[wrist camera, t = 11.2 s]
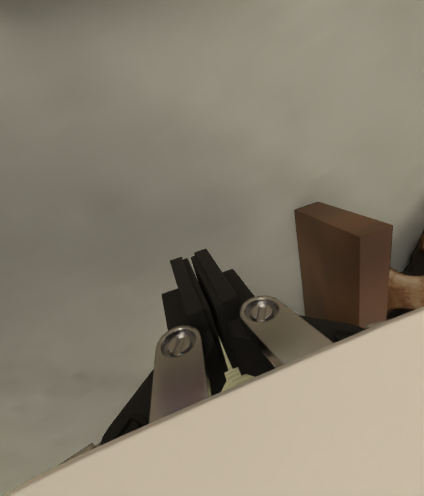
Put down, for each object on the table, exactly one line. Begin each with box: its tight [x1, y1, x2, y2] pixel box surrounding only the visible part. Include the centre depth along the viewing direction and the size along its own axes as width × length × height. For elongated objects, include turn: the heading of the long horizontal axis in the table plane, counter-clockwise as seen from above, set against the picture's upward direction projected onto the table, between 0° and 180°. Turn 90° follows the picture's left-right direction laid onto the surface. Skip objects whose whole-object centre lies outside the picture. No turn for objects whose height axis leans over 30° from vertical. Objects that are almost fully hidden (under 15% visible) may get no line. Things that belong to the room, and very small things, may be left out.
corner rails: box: [295, 202, 393, 329], centre depth 18 cm, size 20×24×7 cm
